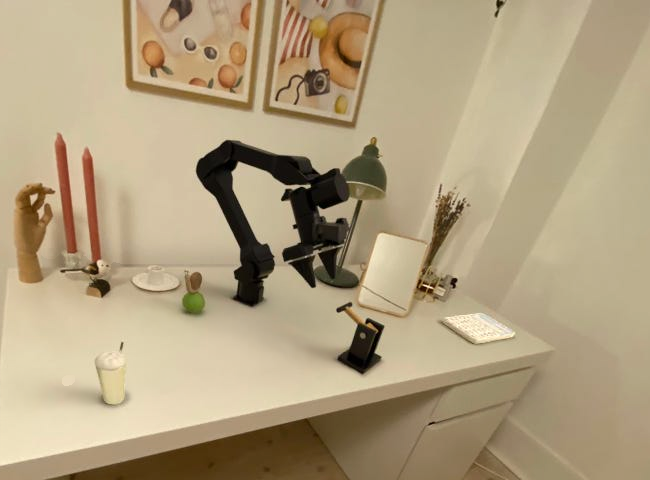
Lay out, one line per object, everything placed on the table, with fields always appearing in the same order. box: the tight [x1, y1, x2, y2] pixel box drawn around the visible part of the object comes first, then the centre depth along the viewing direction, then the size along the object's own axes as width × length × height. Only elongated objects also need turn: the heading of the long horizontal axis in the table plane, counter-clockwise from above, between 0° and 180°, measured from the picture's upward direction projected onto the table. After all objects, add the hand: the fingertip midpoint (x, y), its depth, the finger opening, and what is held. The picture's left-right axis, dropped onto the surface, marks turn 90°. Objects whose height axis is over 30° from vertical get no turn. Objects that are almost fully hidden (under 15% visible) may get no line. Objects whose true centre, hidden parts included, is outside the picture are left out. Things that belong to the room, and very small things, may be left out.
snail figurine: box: [181, 269, 206, 314], centre depth 90 cm, size 5×6×12 cm
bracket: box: [337, 317, 385, 375], centre depth 86 cm, size 7×9×10 cm
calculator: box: [441, 312, 516, 345], centre depth 116 cm, size 13×20×2 cm, turn 118°
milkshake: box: [94, 341, 127, 406], centre depth 62 cm, size 4×5×10 cm
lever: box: [335, 301, 378, 334], centre depth 85 cm, size 10×6×2 cm, turn 51°
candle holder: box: [132, 264, 181, 292], centre depth 102 cm, size 12×12×4 cm
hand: (324, 283), depth 89 cm, fingers open, 9 cm apart
